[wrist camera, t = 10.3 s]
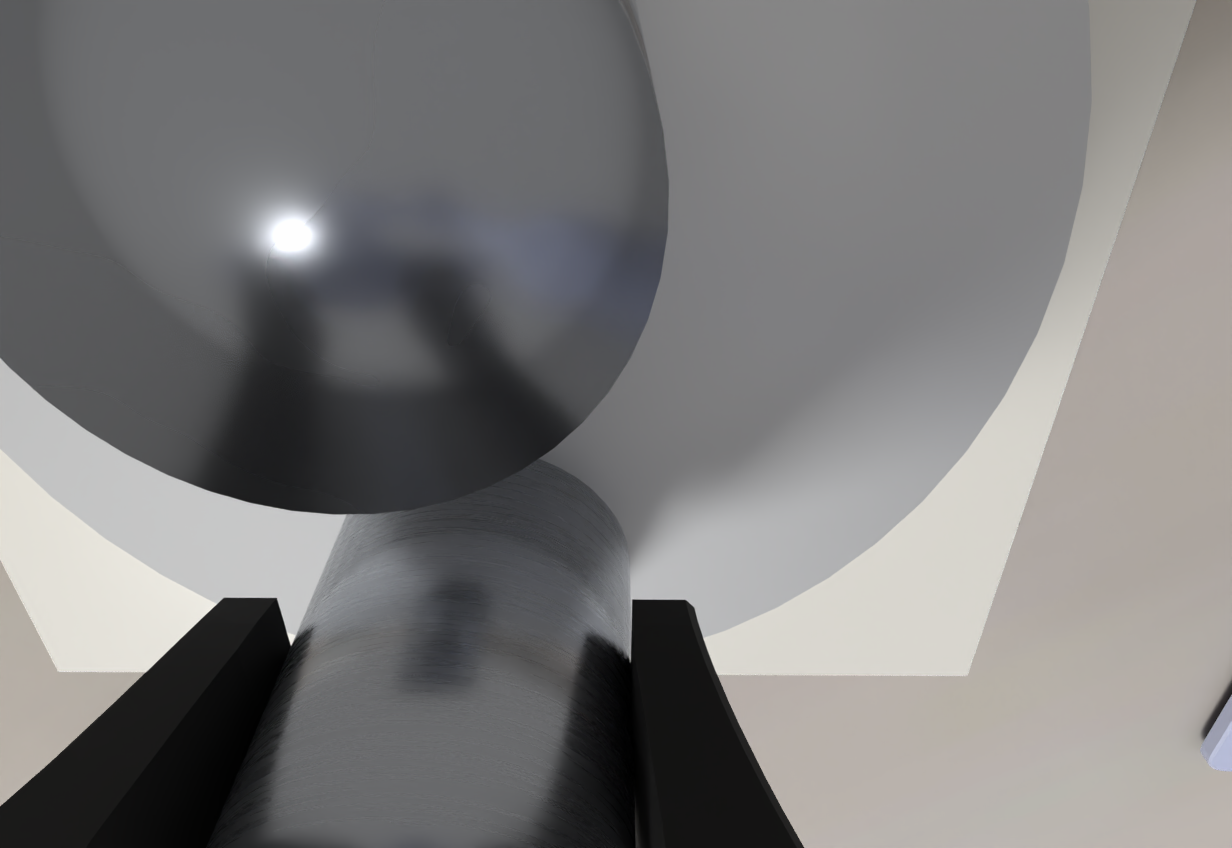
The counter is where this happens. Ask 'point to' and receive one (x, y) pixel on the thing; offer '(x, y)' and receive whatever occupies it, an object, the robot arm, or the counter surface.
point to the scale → (749, 347)
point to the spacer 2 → (454, 683)
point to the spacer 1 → (328, 234)
